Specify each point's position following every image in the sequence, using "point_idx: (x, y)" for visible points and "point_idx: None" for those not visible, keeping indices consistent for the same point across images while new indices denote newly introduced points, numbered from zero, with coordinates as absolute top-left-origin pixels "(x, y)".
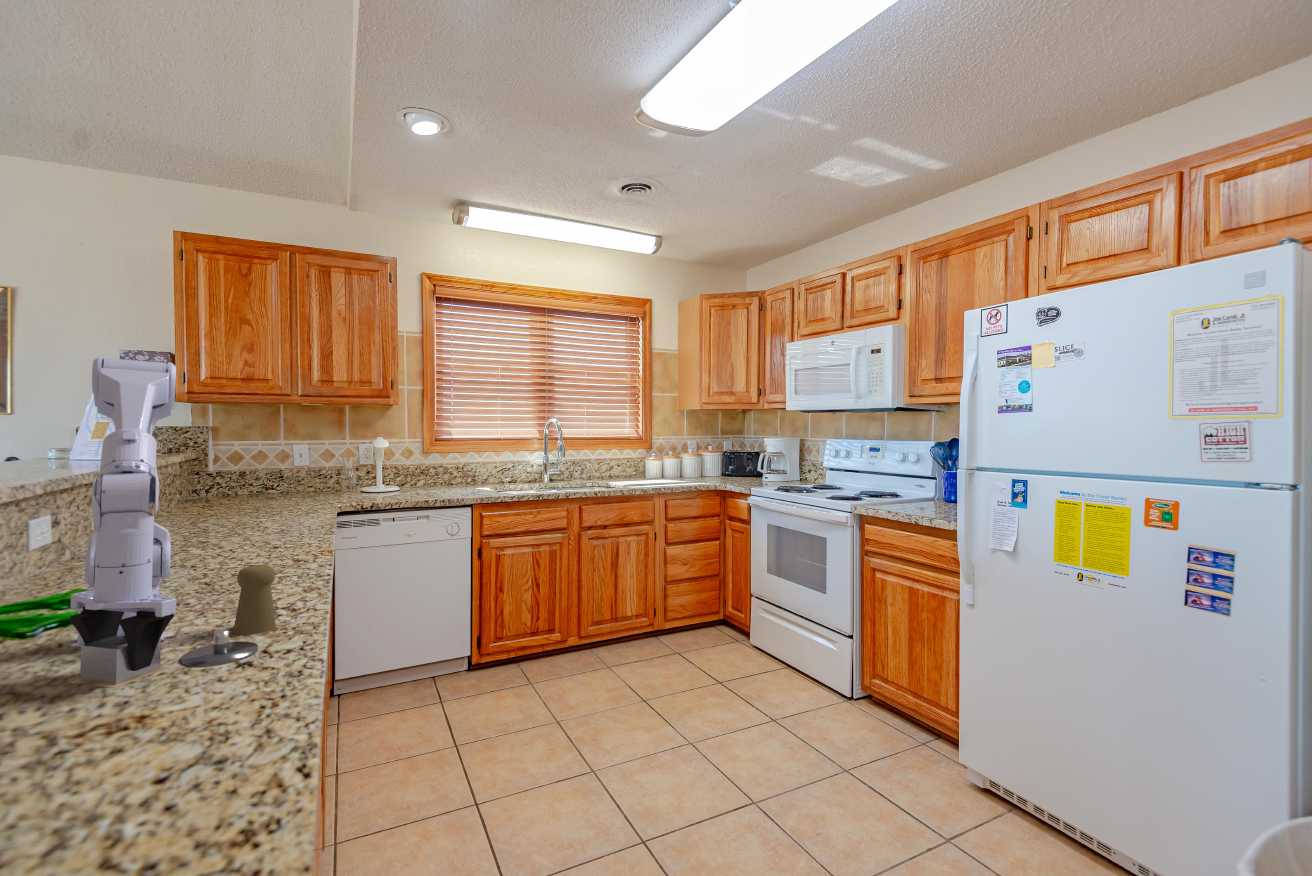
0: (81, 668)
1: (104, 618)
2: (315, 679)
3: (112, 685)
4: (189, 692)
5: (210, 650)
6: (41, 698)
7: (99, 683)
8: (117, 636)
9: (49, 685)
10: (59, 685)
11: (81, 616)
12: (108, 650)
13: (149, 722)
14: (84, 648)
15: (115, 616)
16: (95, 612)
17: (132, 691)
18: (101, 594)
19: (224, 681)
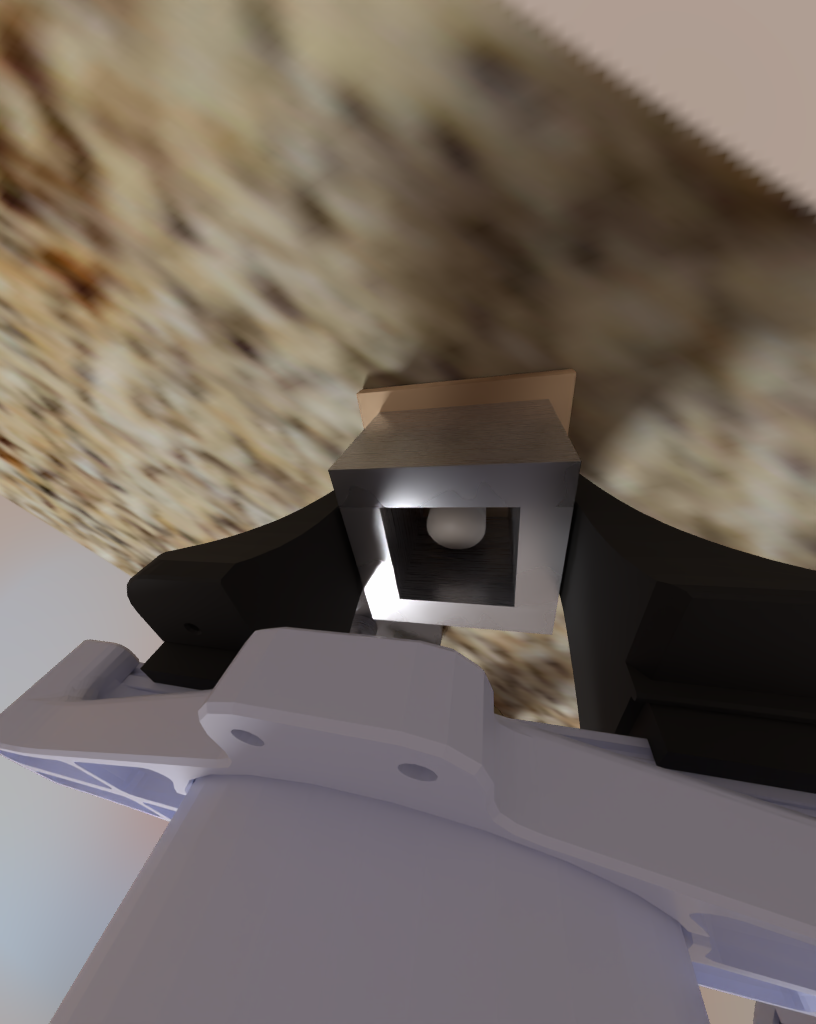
0: (549, 414)
1: (601, 666)
2: (106, 559)
3: (381, 403)
4: (198, 454)
5: (393, 629)
6: (570, 236)
7: (443, 402)
8: (529, 591)
9: (685, 352)
10: (635, 367)
11: (730, 635)
12: (380, 462)
13: (29, 268)
14: (550, 455)
15: (585, 698)
16: (653, 701)
17: (325, 414)
18: (268, 1017)
19: (215, 520)
